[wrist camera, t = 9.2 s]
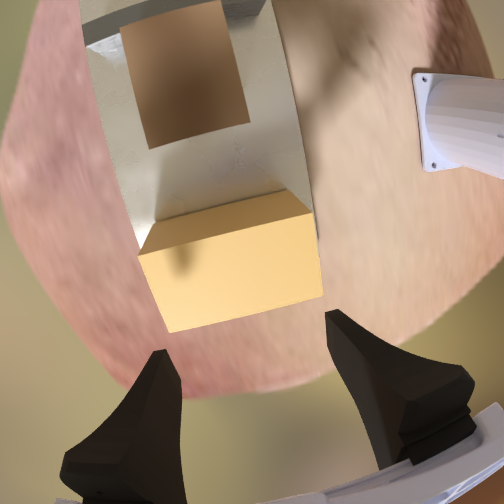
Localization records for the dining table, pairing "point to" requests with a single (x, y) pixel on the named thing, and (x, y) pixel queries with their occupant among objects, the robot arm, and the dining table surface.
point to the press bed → (205, 145)
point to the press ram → (232, 261)
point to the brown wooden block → (184, 73)
